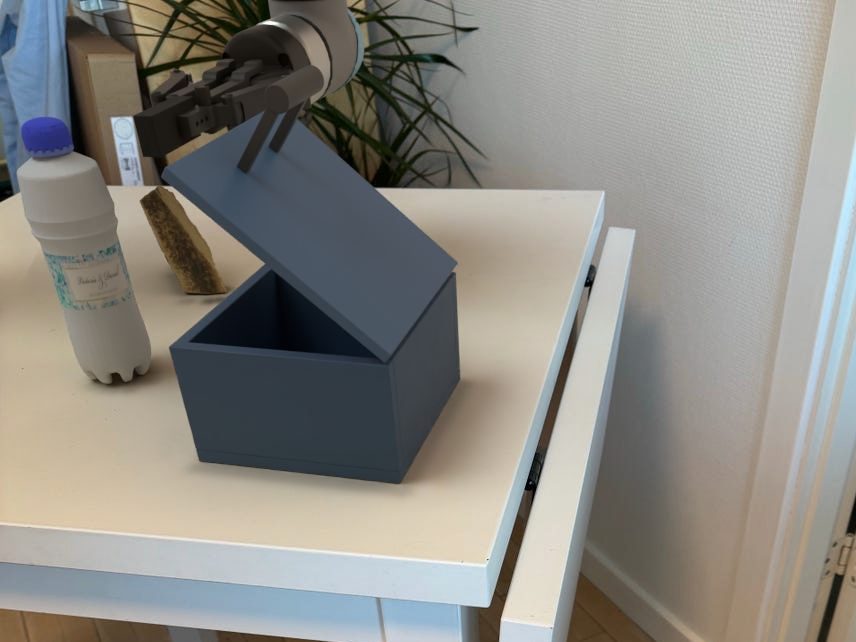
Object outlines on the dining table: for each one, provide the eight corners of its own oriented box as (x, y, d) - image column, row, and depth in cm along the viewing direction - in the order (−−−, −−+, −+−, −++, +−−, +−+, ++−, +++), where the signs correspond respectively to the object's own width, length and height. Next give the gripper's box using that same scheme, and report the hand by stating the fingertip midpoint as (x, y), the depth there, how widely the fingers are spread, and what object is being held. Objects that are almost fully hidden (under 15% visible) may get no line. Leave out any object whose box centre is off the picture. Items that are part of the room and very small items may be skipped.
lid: (160, 177, 54) (205, 75, 50) (273, 111, 67) (318, 25, 62) (384, 363, 59) (444, 285, 55) (452, 270, 71) (506, 200, 67)
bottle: (93, 397, 77) (4, 133, 63) (72, 368, 81) (-16, 115, 67) (170, 375, 79) (100, 118, 66) (145, 349, 83) (75, 102, 70)
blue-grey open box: (198, 461, 68) (168, 346, 62) (287, 363, 80) (268, 259, 74) (400, 484, 65) (388, 366, 59) (460, 378, 77) (455, 272, 71)
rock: (140, 241, 99) (110, 260, 91) (173, 169, 95) (145, 183, 87) (229, 300, 102) (208, 324, 94) (265, 234, 99) (246, 253, 90)
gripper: (347, 119, 84) (239, 195, 67) (219, 115, 87) (84, 188, 70) (336, 23, 79) (217, 79, 62) (201, 22, 82) (51, 75, 65)
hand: (147, 136), depth 66 cm, fingers closed
